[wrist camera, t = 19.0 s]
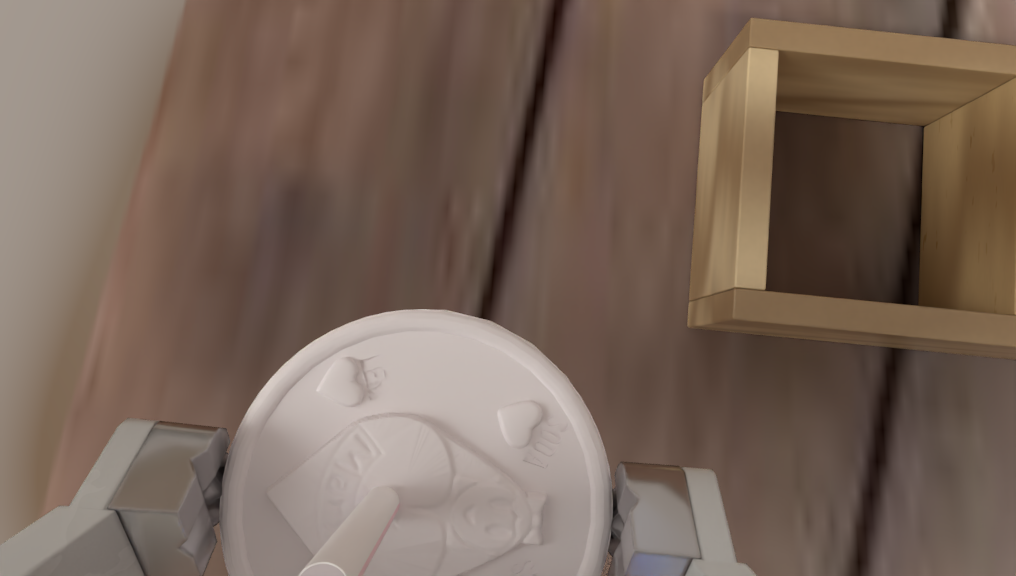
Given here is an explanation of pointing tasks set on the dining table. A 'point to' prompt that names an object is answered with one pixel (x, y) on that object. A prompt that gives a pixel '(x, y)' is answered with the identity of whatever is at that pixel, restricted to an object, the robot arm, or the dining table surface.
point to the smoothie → (417, 459)
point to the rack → (945, 183)
